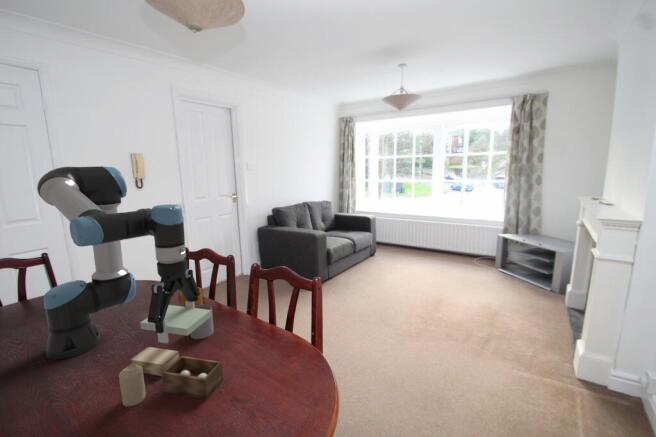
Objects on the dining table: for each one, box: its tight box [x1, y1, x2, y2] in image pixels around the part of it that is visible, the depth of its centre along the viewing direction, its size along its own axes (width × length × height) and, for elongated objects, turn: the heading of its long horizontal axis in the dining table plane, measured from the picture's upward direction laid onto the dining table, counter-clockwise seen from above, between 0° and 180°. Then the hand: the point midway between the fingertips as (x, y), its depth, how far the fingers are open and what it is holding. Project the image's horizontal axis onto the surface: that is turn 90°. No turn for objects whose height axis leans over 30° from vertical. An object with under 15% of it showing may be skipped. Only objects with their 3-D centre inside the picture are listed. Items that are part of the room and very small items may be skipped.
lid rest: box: [130, 346, 180, 377], centre depth 98 cm, size 12×7×4 cm, turn 77°
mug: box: [177, 286, 204, 307], centre depth 139 cm, size 9×12×9 cm
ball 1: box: [180, 370, 191, 376], centre depth 89 cm, size 3×3×3 cm
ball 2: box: [198, 373, 207, 378], centre depth 88 cm, size 3×3×3 cm
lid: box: [139, 304, 211, 337], centre depth 88 cm, size 15×11×2 cm
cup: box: [189, 304, 214, 340], centre depth 117 cm, size 8×8×10 cm
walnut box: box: [161, 355, 224, 400], centre depth 89 cm, size 14×8×6 cm, turn 77°
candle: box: [118, 363, 147, 408], centre depth 83 cm, size 6×6×10 cm
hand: (178, 330), depth 89 cm, fingers closed on lid, 11 cm apart
